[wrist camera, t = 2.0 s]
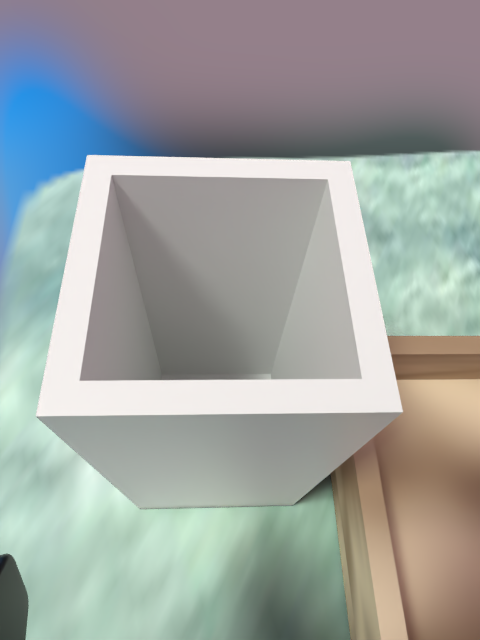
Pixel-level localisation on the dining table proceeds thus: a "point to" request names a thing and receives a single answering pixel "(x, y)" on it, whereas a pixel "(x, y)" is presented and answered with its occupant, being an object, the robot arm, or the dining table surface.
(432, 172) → the dining table surface
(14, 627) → the robot arm
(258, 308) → the white square vase
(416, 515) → the tray
